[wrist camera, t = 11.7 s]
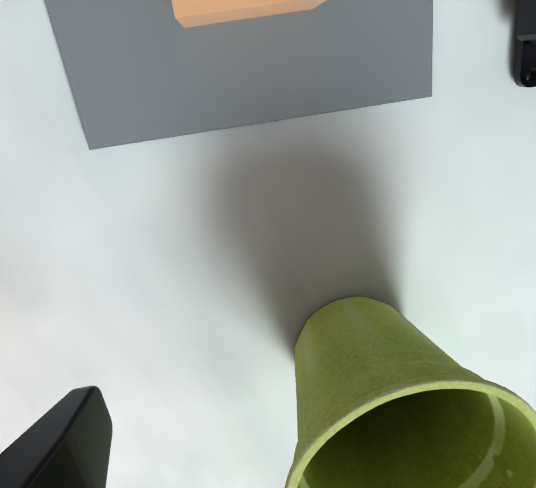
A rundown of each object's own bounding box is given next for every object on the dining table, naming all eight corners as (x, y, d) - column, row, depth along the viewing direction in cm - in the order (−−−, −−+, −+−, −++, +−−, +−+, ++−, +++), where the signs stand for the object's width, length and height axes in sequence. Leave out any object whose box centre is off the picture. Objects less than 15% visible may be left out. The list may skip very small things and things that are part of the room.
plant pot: (229, 315, 21) (235, 465, 13) (403, 231, 20) (521, 336, 12) (305, 436, 25) (346, 610, 17) (456, 368, 24) (573, 517, 16)
